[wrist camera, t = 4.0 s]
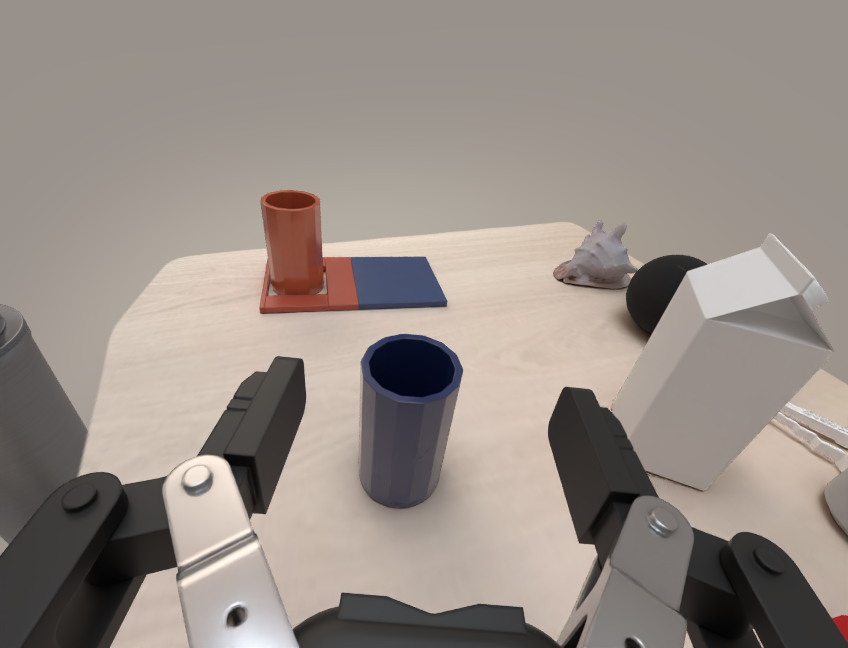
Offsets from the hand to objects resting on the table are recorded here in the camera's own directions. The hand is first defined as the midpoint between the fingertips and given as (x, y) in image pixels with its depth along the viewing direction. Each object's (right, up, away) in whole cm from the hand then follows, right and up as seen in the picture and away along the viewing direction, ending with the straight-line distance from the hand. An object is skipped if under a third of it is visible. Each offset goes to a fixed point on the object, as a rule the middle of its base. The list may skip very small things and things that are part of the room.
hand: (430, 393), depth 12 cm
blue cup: (-2, -9, +19) cm, 21 cm away
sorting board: (-9, +7, +40) cm, 42 cm away
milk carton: (+20, -9, +24) cm, 32 cm away
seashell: (+25, +9, +49) cm, 56 cm away
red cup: (-16, +7, +38) cm, 42 cm away
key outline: (+38, -10, +26) cm, 46 cm away
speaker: (+29, +1, +39) cm, 49 cm away
